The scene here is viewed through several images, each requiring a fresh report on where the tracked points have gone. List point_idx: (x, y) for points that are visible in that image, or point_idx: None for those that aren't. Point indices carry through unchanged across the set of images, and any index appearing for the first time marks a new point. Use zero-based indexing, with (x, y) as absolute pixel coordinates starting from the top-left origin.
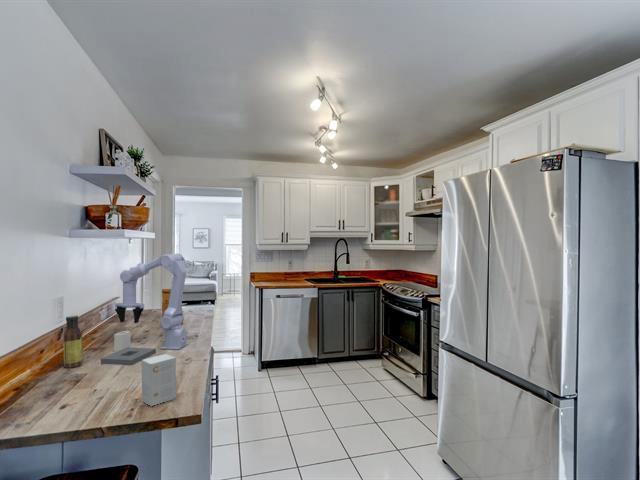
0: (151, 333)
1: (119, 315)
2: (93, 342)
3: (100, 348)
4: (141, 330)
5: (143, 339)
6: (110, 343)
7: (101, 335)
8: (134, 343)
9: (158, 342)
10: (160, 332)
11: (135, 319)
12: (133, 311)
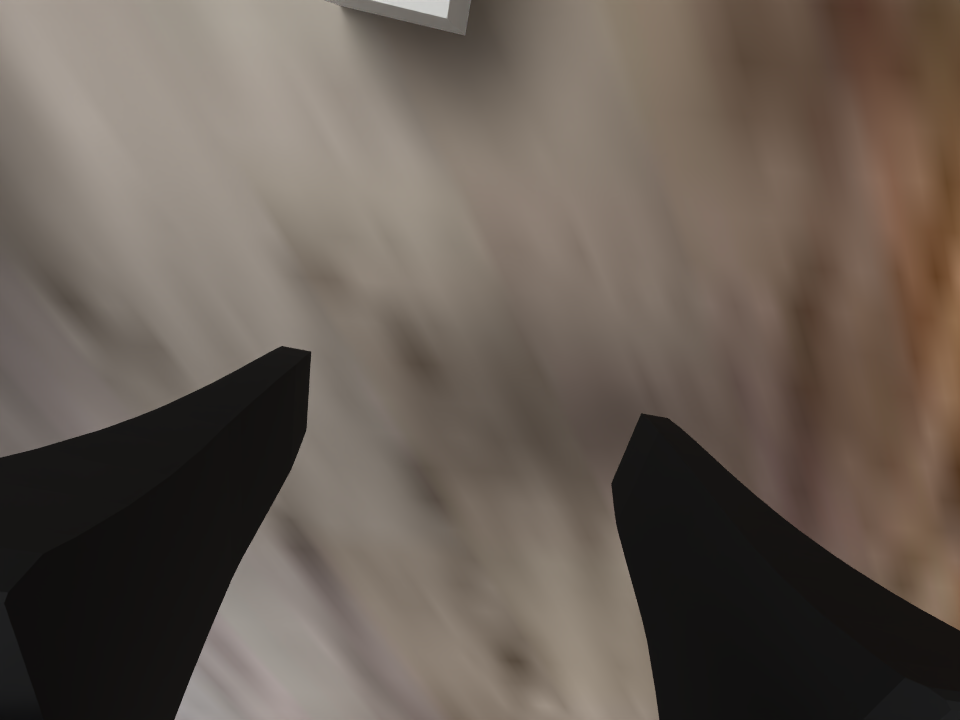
0: (438, 604)
1: (753, 521)
2: (941, 351)
3: (788, 51)
4: (577, 682)
5: (406, 427)
6: (724, 296)
7: (903, 579)
8: (424, 276)
9: (151, 299)
10: (370, 624)
11: (233, 374)
12: (86, 509)
